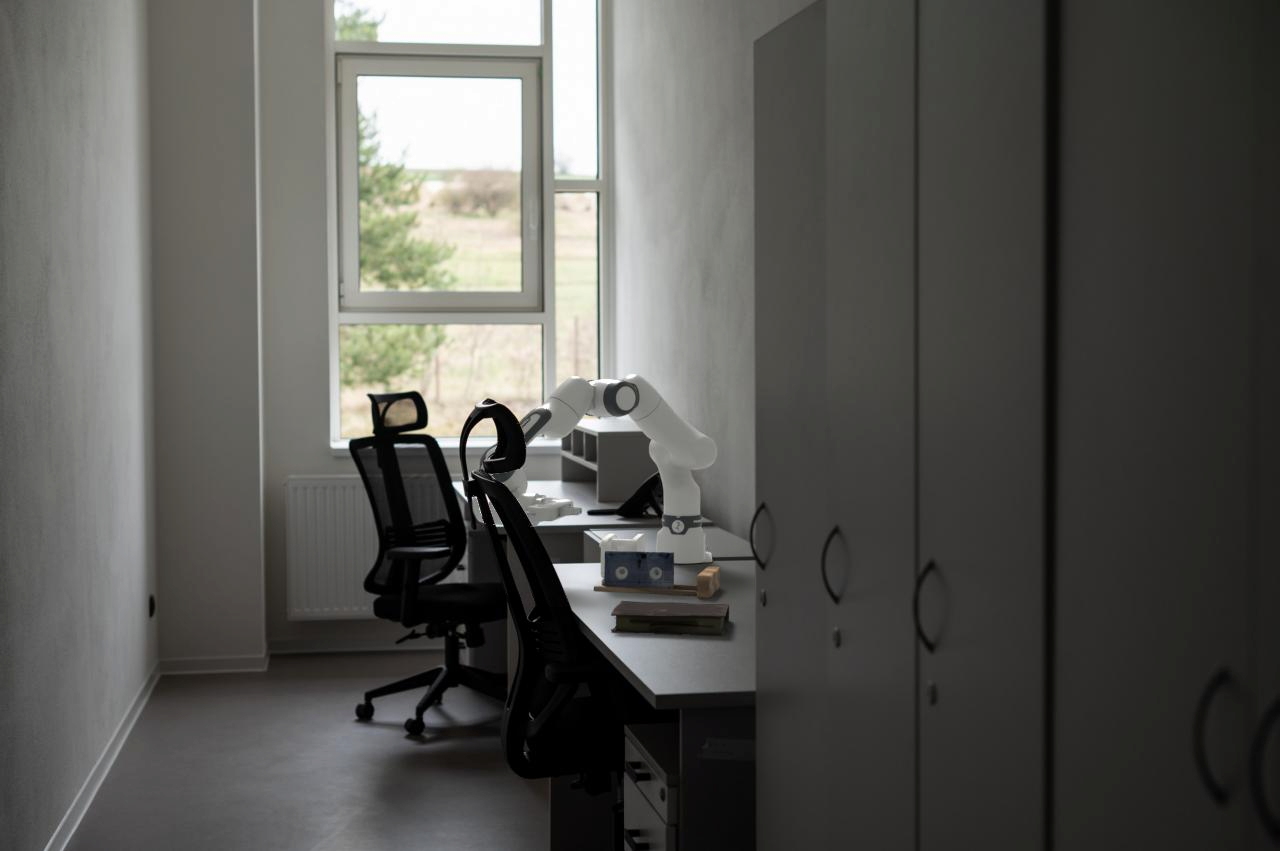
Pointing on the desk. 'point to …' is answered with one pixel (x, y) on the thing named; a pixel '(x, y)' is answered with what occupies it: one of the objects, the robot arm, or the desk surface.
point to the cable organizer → (620, 546)
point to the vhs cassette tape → (639, 569)
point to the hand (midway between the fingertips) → (580, 511)
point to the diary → (671, 618)
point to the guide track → (679, 586)
